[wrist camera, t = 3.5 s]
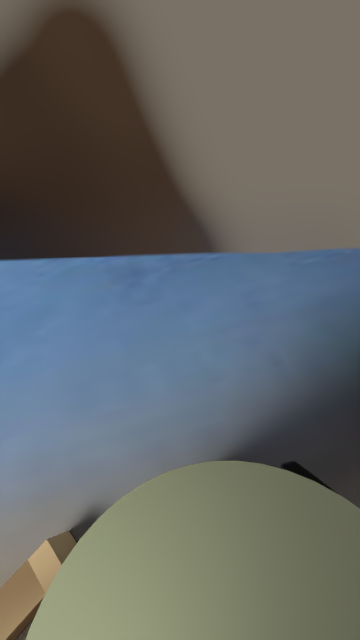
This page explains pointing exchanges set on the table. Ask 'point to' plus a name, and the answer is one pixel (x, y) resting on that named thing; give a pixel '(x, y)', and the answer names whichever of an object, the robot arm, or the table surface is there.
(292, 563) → the green tapered capsule
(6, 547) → the table surface
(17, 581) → the wooden ladder frame
